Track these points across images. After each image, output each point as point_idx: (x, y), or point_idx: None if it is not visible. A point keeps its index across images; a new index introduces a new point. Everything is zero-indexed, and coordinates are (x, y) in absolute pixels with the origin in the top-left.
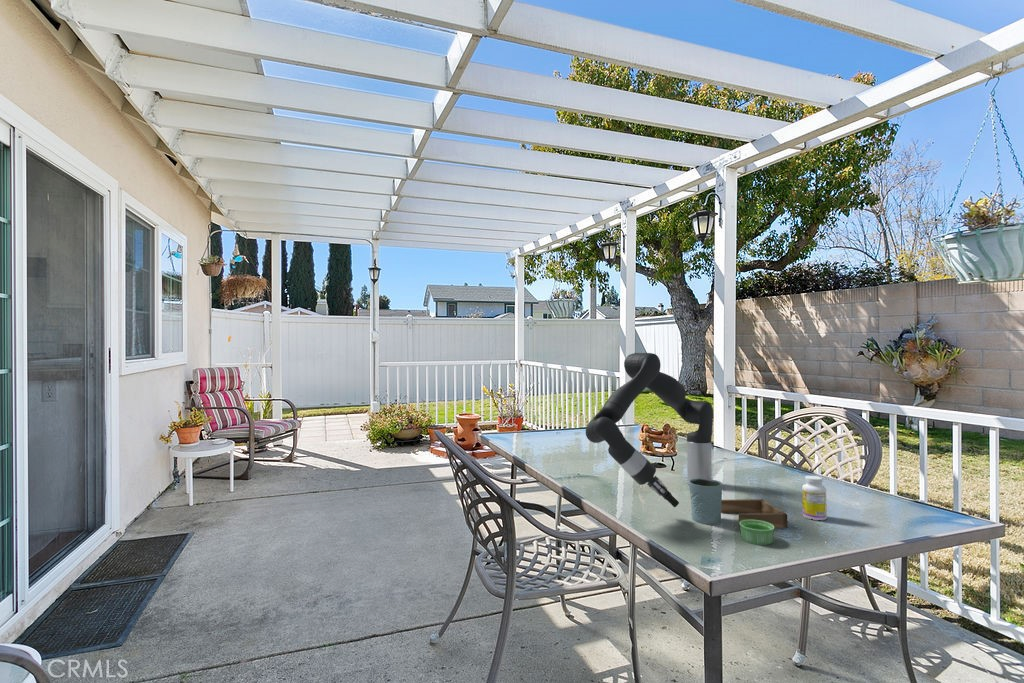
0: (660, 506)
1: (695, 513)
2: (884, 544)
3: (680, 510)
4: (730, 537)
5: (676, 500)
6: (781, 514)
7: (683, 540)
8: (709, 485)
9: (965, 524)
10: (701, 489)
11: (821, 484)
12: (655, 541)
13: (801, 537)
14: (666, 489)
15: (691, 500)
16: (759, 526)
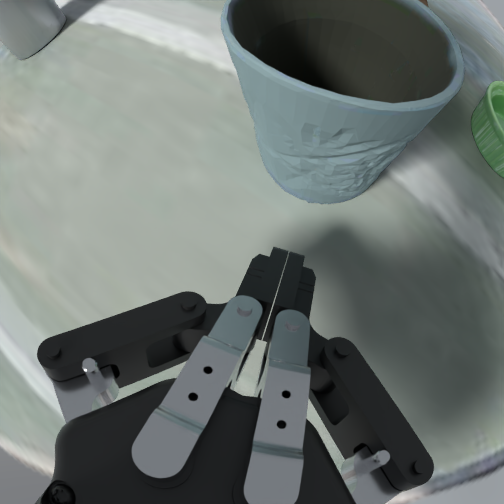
0: (92, 232)
1: (336, 190)
2: (481, 3)
3: (167, 177)
4: (489, 199)
5: (300, 270)
6: (427, 5)
7: (476, 379)
8: (279, 4)
9: None
10: (438, 111)
11: None
12: (442, 471)
13: (474, 52)
14: (418, 441)
15: (308, 162)
16: (491, 99)
